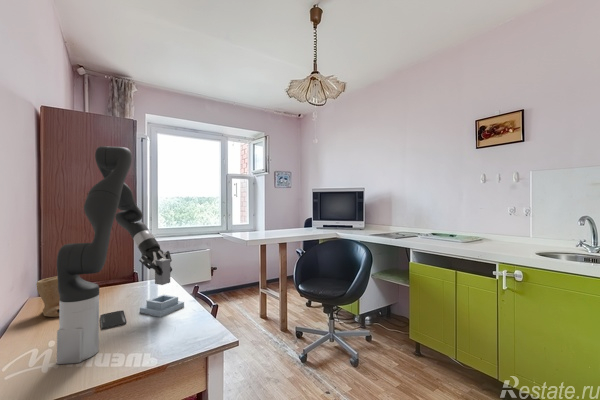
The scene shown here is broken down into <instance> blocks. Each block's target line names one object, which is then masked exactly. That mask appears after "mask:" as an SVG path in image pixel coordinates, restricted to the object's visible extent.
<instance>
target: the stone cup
mask: <svg viewBox="0 0 600 400" xmlns="http://www.w3.org/2000/svg"><path fill="white" fill-rule="evenodd" d="M36 290H37V291H36V292H37V293H38V295H39V297H40V298H41V300H42V302H43V304H44V307H43V308H42V314H43V316H45V317H50V318H51V317H53V318H54V317H56V318H57V317H59V308H60V296H59V292H58V278H57V275H56V276H55V275H54V276H52V277H47V278H43V279H40V280H38V281H37V282H36Z"/></svg>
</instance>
